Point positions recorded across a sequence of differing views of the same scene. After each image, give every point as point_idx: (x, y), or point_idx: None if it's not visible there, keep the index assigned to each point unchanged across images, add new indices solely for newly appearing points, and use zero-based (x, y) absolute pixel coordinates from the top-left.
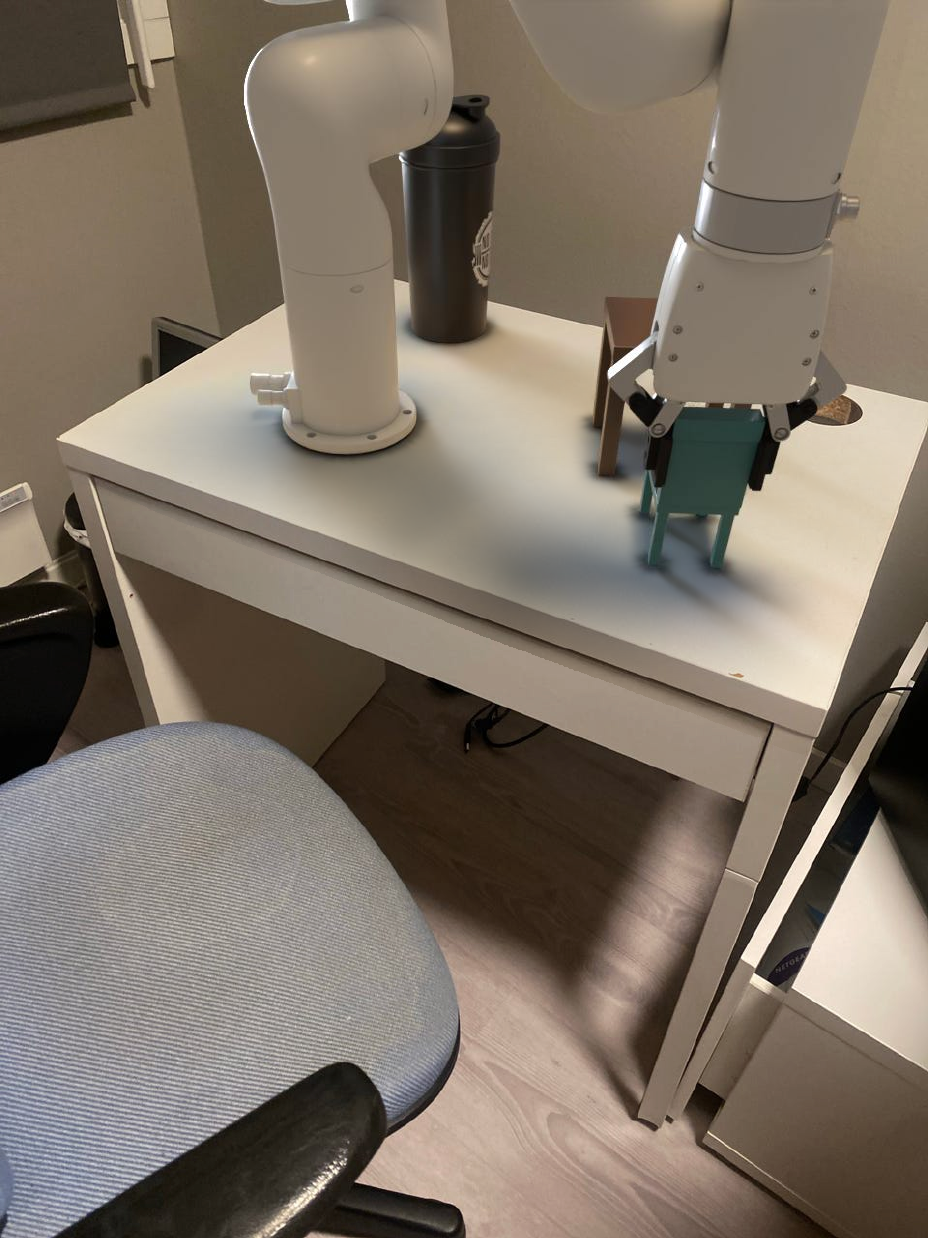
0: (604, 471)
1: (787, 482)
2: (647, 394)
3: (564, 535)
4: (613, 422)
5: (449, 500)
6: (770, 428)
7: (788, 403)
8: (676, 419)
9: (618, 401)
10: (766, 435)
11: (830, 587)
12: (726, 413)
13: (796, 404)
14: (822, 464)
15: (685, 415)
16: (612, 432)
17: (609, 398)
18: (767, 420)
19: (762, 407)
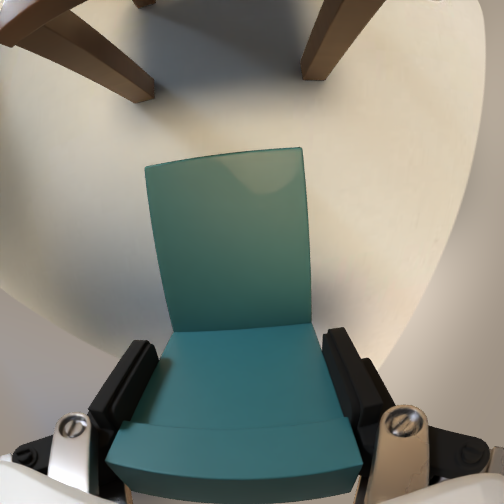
0: (138, 100)
1: (391, 86)
2: (46, 474)
3: (106, 247)
4: (103, 76)
5: (14, 207)
6: (357, 487)
7: (429, 475)
8: (134, 490)
9: (85, 62)
10: None
11: (401, 295)
12: (253, 492)
13: (438, 480)
14: (425, 55)
15: (148, 490)
16: (113, 80)
17: (67, 67)
18: (369, 462)
19: (375, 452)
